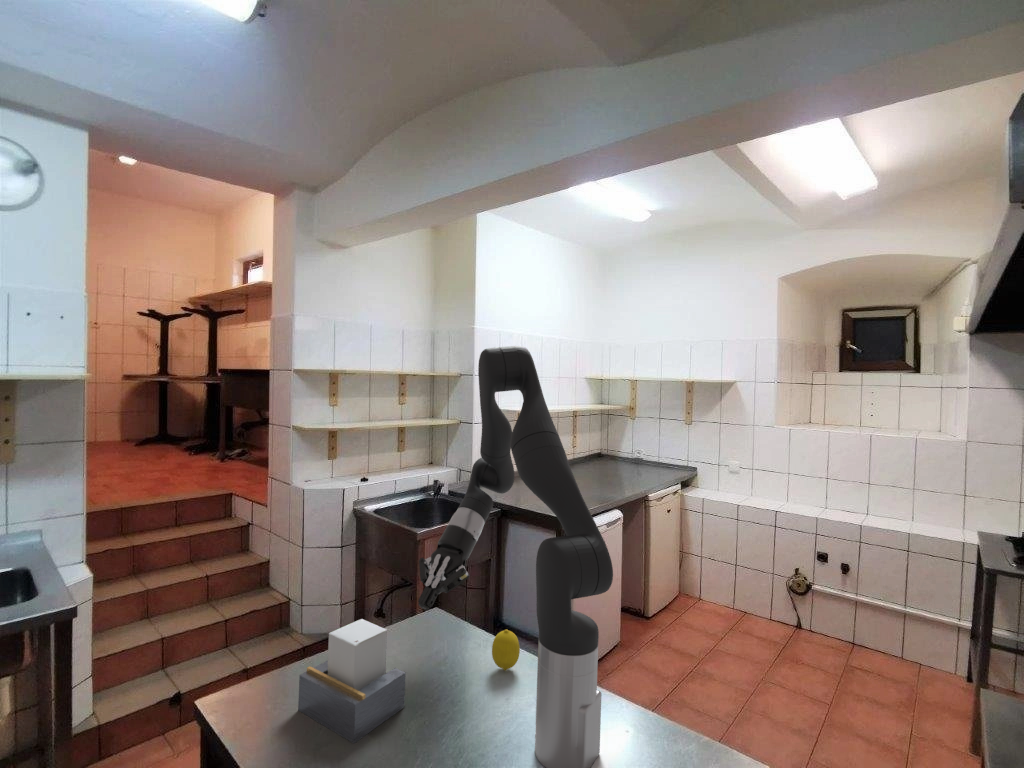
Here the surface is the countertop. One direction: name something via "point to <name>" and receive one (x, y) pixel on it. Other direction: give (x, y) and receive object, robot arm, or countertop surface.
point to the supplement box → (357, 653)
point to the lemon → (505, 649)
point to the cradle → (350, 701)
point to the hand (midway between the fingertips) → (423, 607)
